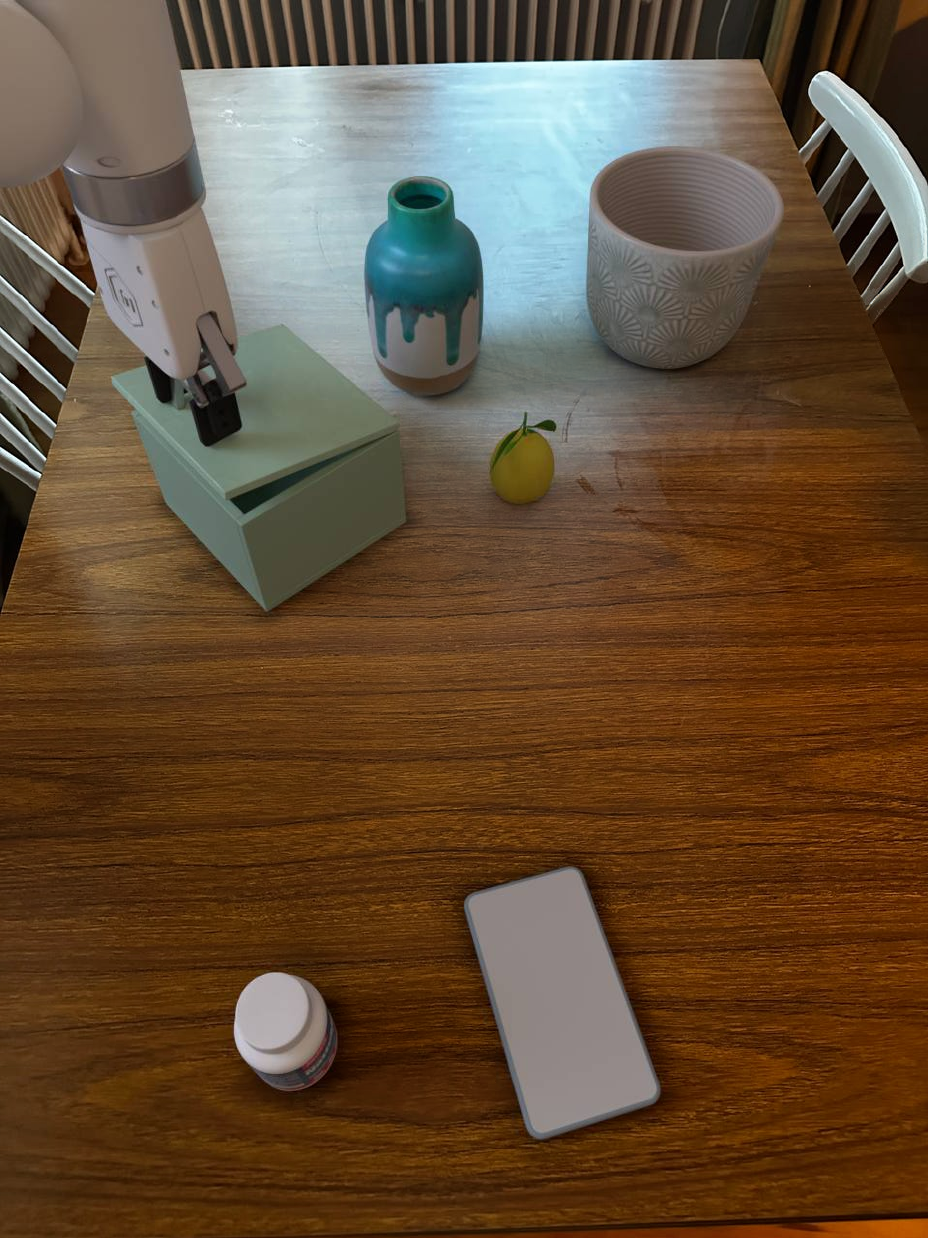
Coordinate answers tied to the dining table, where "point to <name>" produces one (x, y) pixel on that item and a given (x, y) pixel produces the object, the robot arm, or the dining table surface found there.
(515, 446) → the lemon
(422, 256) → the vase
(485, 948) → the smartphone
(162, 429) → the box lid
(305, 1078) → the pill bottle
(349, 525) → the green box
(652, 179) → the planter
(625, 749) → the dining table surface
